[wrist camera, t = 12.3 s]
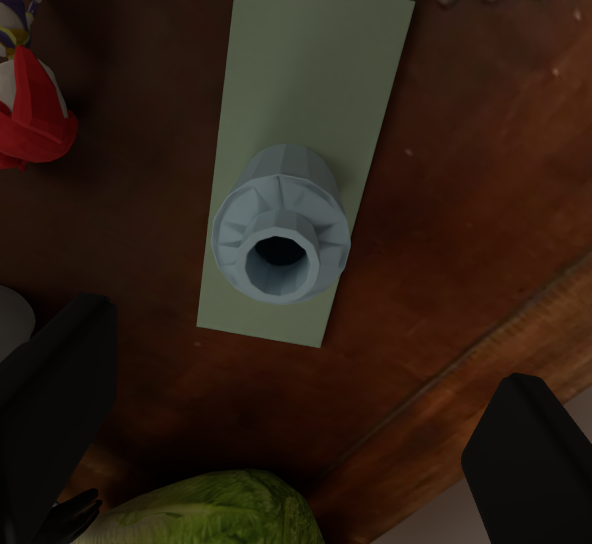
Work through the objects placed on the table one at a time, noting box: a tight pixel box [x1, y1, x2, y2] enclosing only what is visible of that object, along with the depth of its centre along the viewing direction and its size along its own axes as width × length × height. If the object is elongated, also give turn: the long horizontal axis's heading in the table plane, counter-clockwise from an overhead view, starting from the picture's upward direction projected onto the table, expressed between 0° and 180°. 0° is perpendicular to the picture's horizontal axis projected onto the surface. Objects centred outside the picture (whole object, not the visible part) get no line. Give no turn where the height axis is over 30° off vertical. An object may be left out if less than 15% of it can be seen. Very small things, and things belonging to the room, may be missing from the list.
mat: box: [197, 0, 415, 348], centre depth 28 cm, size 24×10×1 cm, turn 169°
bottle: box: [211, 143, 351, 305], centre depth 22 cm, size 6×6×12 cm
